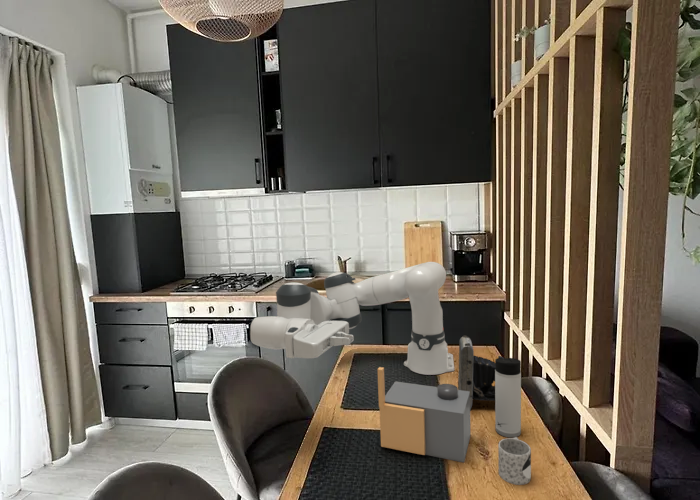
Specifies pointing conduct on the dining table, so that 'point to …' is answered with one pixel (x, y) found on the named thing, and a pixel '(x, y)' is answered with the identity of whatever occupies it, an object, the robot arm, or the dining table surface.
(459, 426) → the housing
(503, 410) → the travel mug
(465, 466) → the dining table surface
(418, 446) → the side door
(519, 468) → the mug
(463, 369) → the vintage camera
